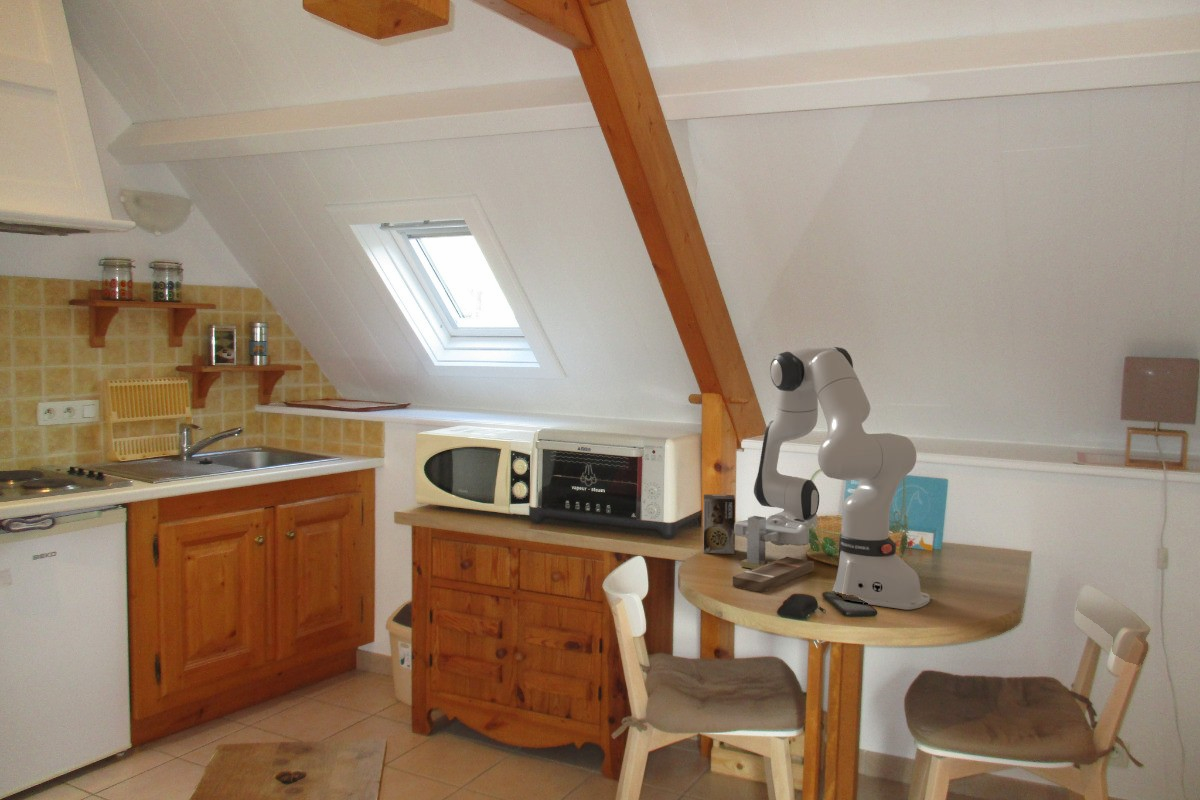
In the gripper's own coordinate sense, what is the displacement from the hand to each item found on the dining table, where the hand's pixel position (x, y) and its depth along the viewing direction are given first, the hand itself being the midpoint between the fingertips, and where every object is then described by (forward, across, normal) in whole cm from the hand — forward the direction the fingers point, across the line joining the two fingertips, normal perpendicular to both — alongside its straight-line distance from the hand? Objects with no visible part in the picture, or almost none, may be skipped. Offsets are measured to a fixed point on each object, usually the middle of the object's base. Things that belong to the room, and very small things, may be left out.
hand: (755, 536), depth 249 cm
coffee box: (-10, -18, +9) cm, 23 cm away
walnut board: (+6, +9, +8) cm, 14 cm away
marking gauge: (0, 0, +8) cm, 8 cm away
